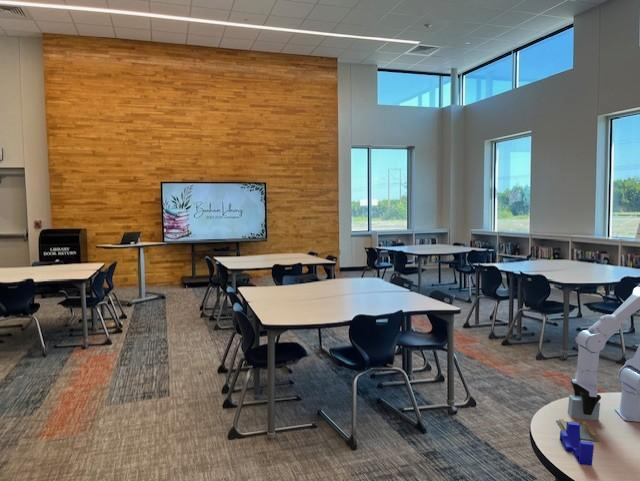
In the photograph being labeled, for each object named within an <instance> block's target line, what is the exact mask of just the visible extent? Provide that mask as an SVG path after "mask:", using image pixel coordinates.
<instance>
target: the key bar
mask: <svg viewBox="0 0 640 481" xmlns="http://www.w3.org/2000/svg"><path fill="white" fill-rule="evenodd" d="M568 396H569V397H568V407H567V413H568V415H569V416H570V418H575V419H581V418H582V420H583V419H584V420H592V421H599V417H600V411H601V410H600V409H601V402H600V400H599V401H598V402H597V404H596V405H595V408H594V410H593V412H592V415H585V414H584V413H583V402H582V397H581V396H575V394H569V395H568Z"/></svg>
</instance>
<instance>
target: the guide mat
mask: <svg viewBox="0 0 640 481" xmlns="http://www.w3.org/2000/svg"><path fill="white" fill-rule="evenodd" d="M555 421H556V423H557V425H558V426H559V428H560V431H564V430H563V428H562V426H561V425H560V423H559V419H558V420H555ZM564 421H565V423H566V424H567V422H568V421H566V420H564ZM574 423H576V422H574ZM578 423H579V425H580V438H581V441H589V442H600V440H599V438H598V437H596V439H595V438H591V436H590V435H589V433H588V432H587V430H586V429H585V427H584V426H583V422H578Z"/></svg>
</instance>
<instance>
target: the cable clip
mask: <svg viewBox="0 0 640 481" xmlns="http://www.w3.org/2000/svg"><path fill="white" fill-rule="evenodd" d="M566 422H567V426H566V431H562V430H560V432H559V441H561V442H560V444H561V445H562V446H563V448H564V450H565V452H568V453H572V454H573V456H574V458H575V459H576V461H577V462H578V464H579V465H584V466H591V467H592V466H593V459H594V458H593V457H594V450H595V444H594V443H593V441H588V440H582V439H581V438H580V425H579V423H580V422H575V423H574V422H573V421H566Z"/></svg>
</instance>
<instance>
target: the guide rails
mask: <svg viewBox="0 0 640 481" xmlns="http://www.w3.org/2000/svg"><path fill="white" fill-rule="evenodd" d="M558 421H559V423H560V425H561V426H562V428H563V430H564V431H566V426H567V424H566V423H565V421H566V420H564V419H563V418H562V419H561V418H559V419H558ZM582 423H583V426H584V427H585V429H586V430H587V432H588V433H589V435H590V436H591V438H595V439H596V437H597V434H596V433H595V431H594V429H593V428H592V426H590V423H588V421H582ZM597 438H598V437H597Z"/></svg>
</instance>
